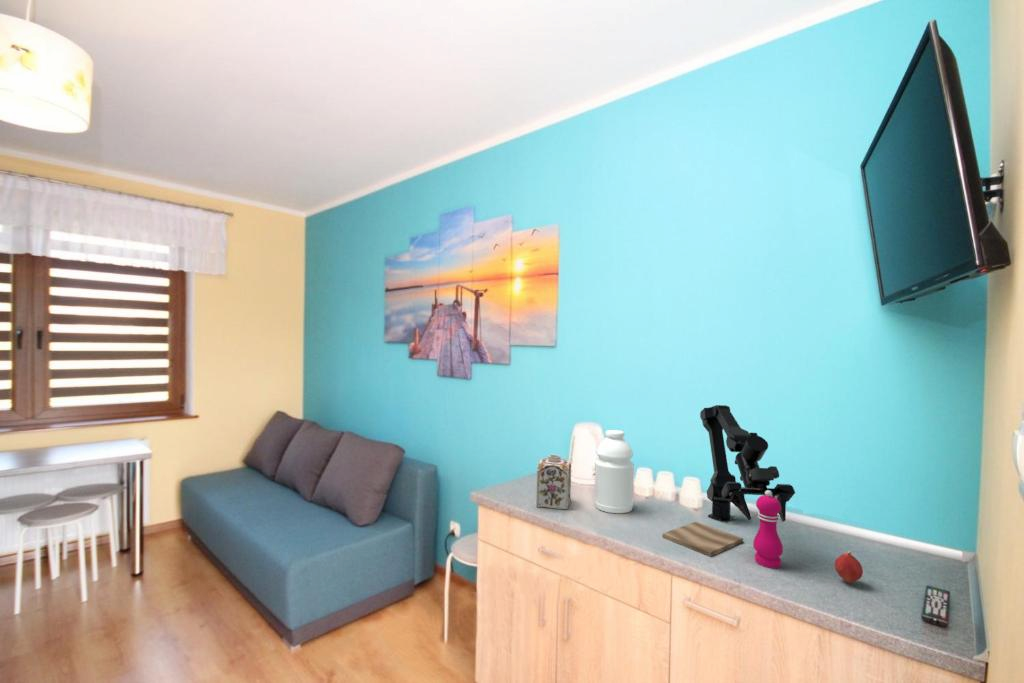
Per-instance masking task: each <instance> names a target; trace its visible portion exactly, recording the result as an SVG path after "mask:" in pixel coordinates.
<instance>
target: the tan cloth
mask: <svg viewBox="0 0 1024 683" xmlns="http://www.w3.org/2000/svg"><path fill="white" fill-rule="evenodd" d="M662 538H663V539H665V538H666V539H665V540H669V541H670V542H673V543H675V544H678V545H680V544H681V546H682V545H683V547H685V548H687V547H688V549H690V548H691V549H690V550H692V551H695V552H698V553H700V554H703V555H704V556H707V557H709V558H711V557H713V556H716V555H718V554H720V553H723V552H724V550H725V551H727V550H729V549H731V548H733V547H735V545H736V546H738V545H740V544H742V543H744V537H740V536H738V535H735V534H732V533H729V532H726V531H724V530H721V529H718V528H715V527H712V526H709V525H706V524H704V523H700V522H698V521H695V522H692V523H688V524H686V525H682V526H680V527H677V528H674V529H671V530H668V531H666V532H662ZM741 542H742V543H741ZM739 543H740V544H739ZM737 544H738V545H737Z"/></svg>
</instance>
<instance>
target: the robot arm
mask: <svg viewBox="0 0 1024 683" xmlns="http://www.w3.org/2000/svg"><path fill="white" fill-rule="evenodd" d="M699 415H700V420H701V423H702V426H703V427H704V428H705V430H706V431H707V433H708V437H709V445H710V451H711V452H710V453H711V459H712V466H713V467H712V468H713V474H712V476H711V478H710V483H709V487H708V488H707V490H706V497H707V499H708V500H709V501H710V502H712V503H711V504H712V505H711V513H710V514H708V515H707V517H708V518H712V519H714V520H718V521H720V520H721V522H723V521H724V522H723V523H726V522H729V521H731V519H732V520H734V519H733V518H736V517H735V516H733V515H731V503H732V505H733V506H735V507H736V508H737V509H738V510H739V511H740V512H741V513H742V514H743V515H744V517H745V518H747V520H749V521H751V519H752V516H751V512H750V509H749V506H748V505H747V502H746V498H745V495H754V496H763V495H765V491H767V490H769V491H771V492H772V496H773V497H775V498H776V499H777V500H778V501H779V502H780V505H781V510H780V512H779V513H778V516H779V518H780V519H781V522H785V521H786V518H787V517H786V515H787V514H786V512H787V511H786V508H787V502H789V501H790V500H791V499H792V498H793V497H794V495H795V494H796V491H795V488H794V486H793V485H792V484H789V483H788V484H787V483H786V484H785V483H777V484H776V485H775V487H774V488H772V487H771V488H769V487H768V486H770V485H771V481H775V479H778V478H779V477H780V472H779V470H778V467H777V466H773V465H772V466H769V467H760V465H759V461H761V460H762V458H763V457H764V455H765V453H766V452H767V451H768V448H769V444H768V441H766V440H767V439H765V438H763V437H762V436H760V435H758V433H757V432H749V431H748V430H746V429H743V428H742V427H741V426H740V424H739V423H738V421H737V420H736V419H735V417H734V415H733V413H732V412H731V408H730V406H729V405H727V404H726V405H725V404H723V405H722V404H721V405H720V404H716V405H713V406H710V407H704V408H703V409H701V410H700V414H699ZM723 431H724V432H723ZM724 433H725V435H726V439H724ZM725 444H726V445H725ZM726 446H727V449H728V450H729V452H731V453H737V454H736V455H735V460H734V464H735V465H737V467H738V470H739V474H740V476H739V479H740V481H741V482H742V483H743V486H742V484H741V482H737V479H736V476H735V474H732V473H731V472H730V471H729V466H728V460H727V453H726V452H727V450H726Z"/></svg>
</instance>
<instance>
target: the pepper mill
mask: <svg viewBox="0 0 1024 683" xmlns="http://www.w3.org/2000/svg"><path fill="white" fill-rule="evenodd" d="M755 504H756V505H755V506H756V508H757V510H758V512H757V514H758V515H757V518H758V519H759V527H758V531H757V532H756V534H755V536H754V539H753V542H752V547H753V549H754V550H755V553H754V561H755V562H756V563H757V564H758V565H761V566H763V567H766V568H771V569H777V568H780V567H781V566H782V559H781V557H780V556H782V555H783V553H784V552H783V551H784V546H783V543H782V541H781V538H780V537H779V534H778V530H777V522H779V521H780V520H779V518H780V516H779V512H780V510H781V505H780V502H779V501H778V500H777V499H776V498H775V497H773V496H772V492H771V491H769V490H767V491H765V495H759V497H757V499H756V502H755Z"/></svg>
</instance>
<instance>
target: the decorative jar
mask: <svg viewBox="0 0 1024 683" xmlns="http://www.w3.org/2000/svg"><path fill="white" fill-rule="evenodd" d="M561 457H562V456H561V455H558V454H549V455H548V456H547V457H544V458H540V460H539V461H538V464H537V465H538V466H537V470H536V507H537V506H539V507H538V508H542V507H550V508H549V509H552V508H560V509H559V510H562V509H567V510H568V508H569V505H570V503H571V502H570V501H571V495H572V494H571V489H572V463H571V461H569V460H567V459H563V458H561Z"/></svg>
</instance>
